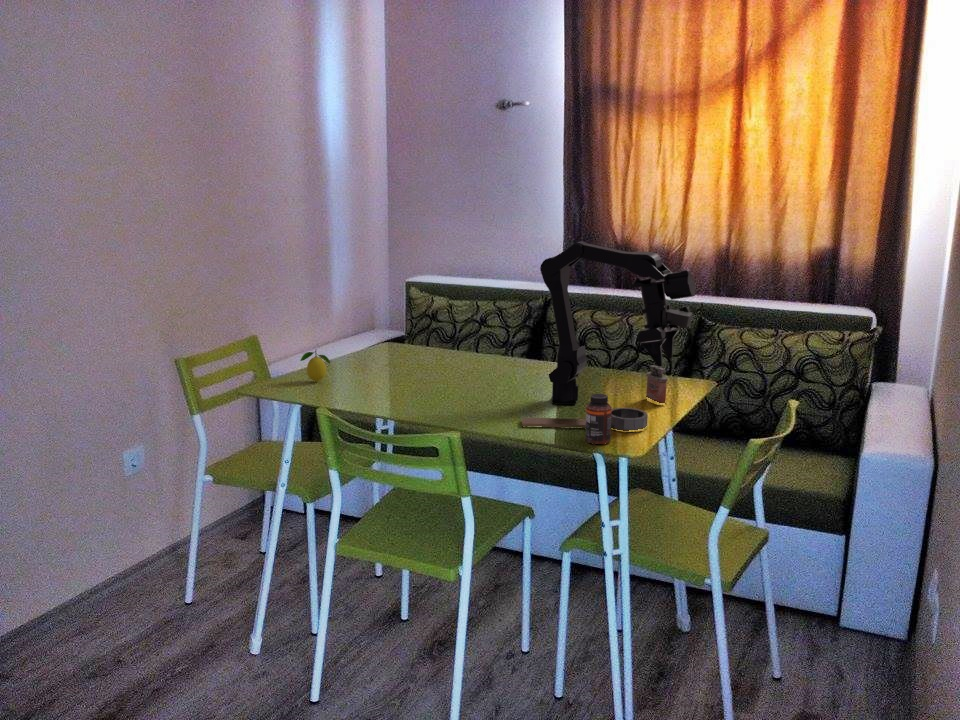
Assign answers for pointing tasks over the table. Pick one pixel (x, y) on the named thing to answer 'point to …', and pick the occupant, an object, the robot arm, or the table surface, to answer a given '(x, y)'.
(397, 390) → the table surface
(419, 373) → the table surface
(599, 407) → the supplement bottle
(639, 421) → the cup bracket
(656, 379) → the lighter
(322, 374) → the lemon
